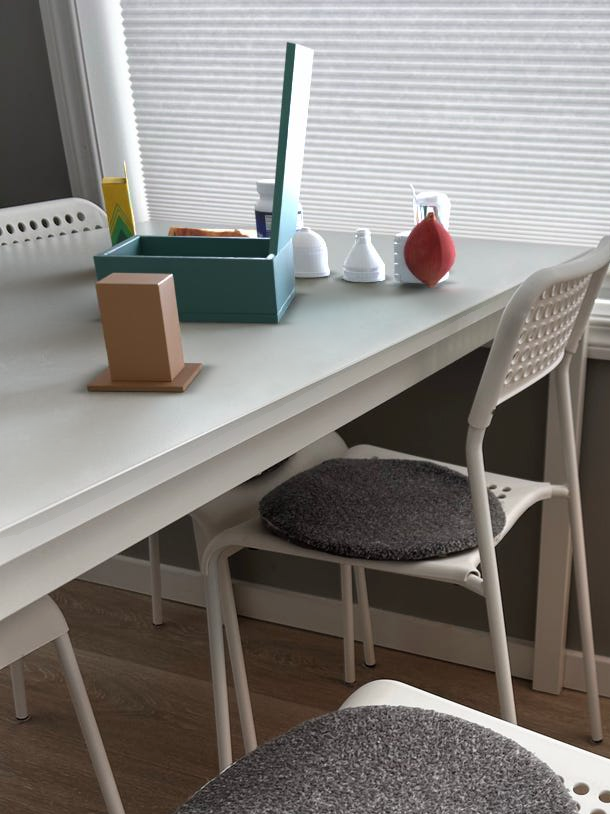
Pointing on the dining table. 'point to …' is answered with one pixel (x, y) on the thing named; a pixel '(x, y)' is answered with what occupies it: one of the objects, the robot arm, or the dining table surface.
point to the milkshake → (431, 207)
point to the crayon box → (118, 208)
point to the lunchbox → (211, 274)
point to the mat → (146, 382)
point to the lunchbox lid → (290, 145)
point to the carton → (140, 326)
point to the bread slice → (211, 232)
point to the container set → (349, 258)
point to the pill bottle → (269, 209)
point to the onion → (429, 251)
